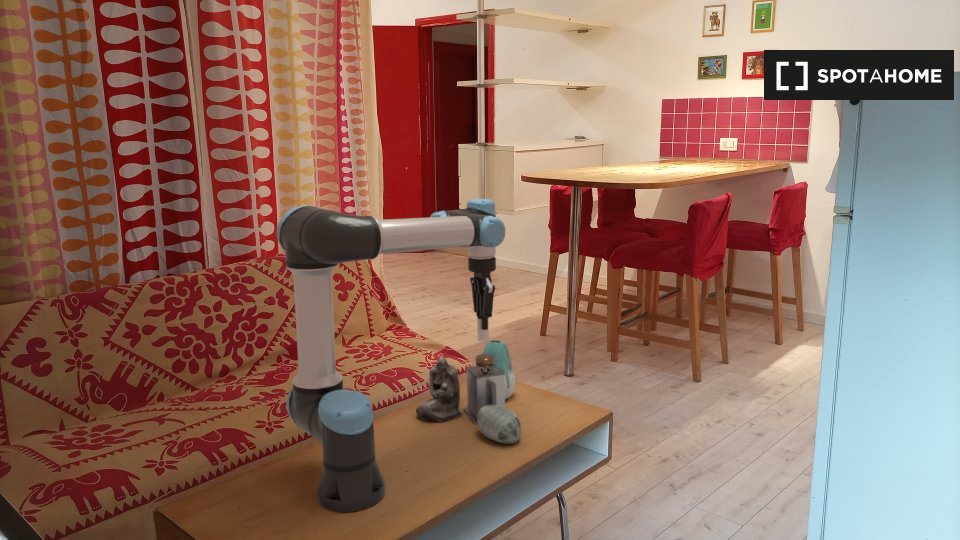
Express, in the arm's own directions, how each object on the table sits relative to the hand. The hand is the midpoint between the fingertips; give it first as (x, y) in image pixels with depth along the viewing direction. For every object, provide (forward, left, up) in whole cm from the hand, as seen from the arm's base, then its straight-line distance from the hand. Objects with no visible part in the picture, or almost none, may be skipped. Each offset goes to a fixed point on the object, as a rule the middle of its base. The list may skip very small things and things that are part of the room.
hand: (483, 339), depth 200 cm
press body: (0, 0, -23) cm, 23 cm away
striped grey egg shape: (-2, -14, -23) cm, 27 cm away
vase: (+8, +11, -23) cm, 27 cm away
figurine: (-12, +5, -23) cm, 26 cm away
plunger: (0, 0, -18) cm, 18 cm away
